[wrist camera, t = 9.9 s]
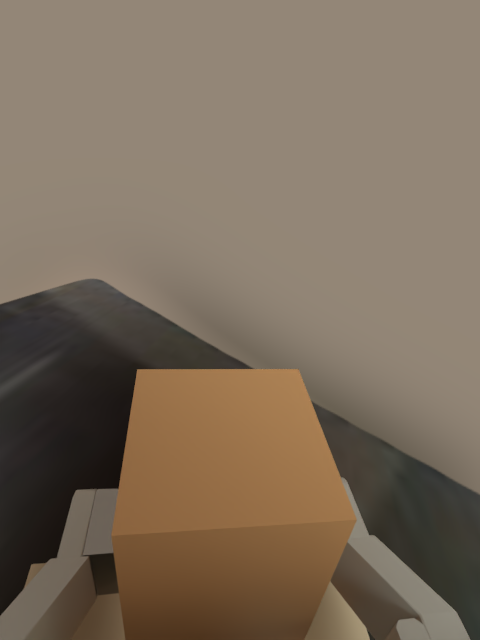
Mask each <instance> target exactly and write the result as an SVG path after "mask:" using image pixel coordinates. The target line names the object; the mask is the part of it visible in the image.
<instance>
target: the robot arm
mask: <svg viewBox="0 0 480 640" xmlns="http://www.w3.org/2000/svg"><path fill="white" fill-rule="evenodd" d="M341 480H342V483H343V485H344V488H345V490H346V493H347V495H348V498H349V501H350V503H351V506H352V508H353V511H354V513H355V516H356V519H357V521H356V523H355V525H354V528H353V530H352V532H351V535H350V537H349V539H348V541H347V544H346V546H345V548H344V551H343V553H342V555H341V557H340V560H339V562H338V564H337V566H336V569H335V571H334V573H333V576H332V578H331V580H330V582H331V583H332V584H333V586H334V587H335V588H336V589H337V591H338V592H339V593H340V595H341V596H342V597H343V598H344V600H345V601H346V602H347V604H348V605H349V606H350V607H351V609H352V610H353V611H354V613H355V614H356V615H357V616H358V618H359V619H360V620H361V622H362V623H363V624H364V625H365V627H366V628H367V629H368V631H369V632H370V633H371V634H372V636H373V637H374V638H375V640H470V638H469V636H468V634H467V632H466V630H465V628H464V626H463V624H462V622H461V620H460V618H459V616H458V614H457V612H456V611H455V610H454V609H453V608H452V607H450V606H449V605H448V604H447V603H446V602H445V601H444V600H443V599H442V598H441V597H440V596H439V595H438V594H437V593H435V592H434V591H433V590H432V589H431V588H430V587H429V586H428V585H427V584H426V583H425V582H424V581H423V580H422V579H420V578H419V577H418V576H417V575H416V574H415V573H414V572H413V571H412V570H411V569H410V568H409V567H408V566H407V565H405V564H404V563H403V562H402V561H401V560H400V559H399V558H398V557H397V556H396V555H395V554H394V553H393V552H392V551H390V550H389V549H388V548H387V547H386V546H385V545H384V544H383V543H382V542H381V541H380V540H379V539H378V538H377V537H375V536H374V535H370V536H369V534H368V532H367V529H366V527H365V524H364V522H363V520H362V517H361V515H360V512H359V510H358V507H357V505H356V502H355V500H354V498H353V495H352V493H351V490H350V488H349V485H348V483H347V481H346V480H345V479H344V478H342V477H341ZM118 490H119V488H115V489H85V490H76V492H75V494H74V496H73V498H72V502H71V506H70V510H69V513H68V517H67V521H66V525H65V529H64V532H63V536H62V540H61V544H60V548H59V551H58V555H57V558H53V559H50V560H49V561H48V562H47V563H46V564H45V565H44V567H43V568H42V569H41V570H40V571H39V572H38V573H37V575H36V576H35V577H34V578H33V579H32V580H31V581H30V583H29V584H28V585H27V586H26V587H25V588H24V589H23V591H22V592H21V593H20V594H19V595H18V596H17V597H16V599H15V600H14V601H13V602H12V603H11V604H10V605H9V607H8V608H7V609H6V610H5V611H4V612H3V613H2V615H1V616H0V640H71V638H72V636H73V635H74V633H75V632H76V630H77V629H78V627H79V626H80V624H81V622H82V621H83V619H84V618H85V616H86V615H87V613H88V611H89V610H90V608H91V607H92V605H93V604H94V602H95V600H96V599H97V596H98V595H107V594H115V593H119V589H118V582H117V574H116V567H115V560H114V552H113V545H112V538H111V534H112V528H113V522H114V515H115V509H116V502H117V496H118Z"/></svg>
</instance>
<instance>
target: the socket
mask: <svg viewBox="0 0 480 640" xmlns="http://www.w3.org/2000/svg"><path fill="white" fill-rule="evenodd" d="M45 564H46V563H41V564H31V568H30V571H29V574H28V577H27V580H26V584H25V587H26V586H27V585H28V584H29V583H30V581H31V580H32V579H33V578H34V577H35V576H36V575H37V573H38V572H39V571H40V570H41V569H42V568H43V567H44V565H45ZM25 587H24V588H25ZM71 640H125V633H124V626H123V619H122V611H121V604H120V597H119V593H115V594H107V595H98V596H97V599H96V600H95V602H94V604H93V605H92V607H91V608H90V610H89V611H88V613H87V615H86V616H85V618H84V619H83V621H82V622H81V624H80V626H79V627H78V629H77V630H76V632H75V633H74V635H73V636H72V638H71ZM304 640H370V639H369V636H368V633H367V629H366V627H365V625H364V624H363V623H362V622H361V620H360V619H359V618H358V616H357V615H356V614H355V613H354V611H353V610H352V609H351V607H350V606H349V605H348V604H347V602H346V601H345V600H344V598H343V597H342V596H341V595H340V593H339V592H338V591H337V589H336V588H335V587H334V586H333V584H332V583H331V582H329V585H328V587H327V589H326V592H325V594H324V596H323V598H322V601H321V603H320V605H319V607H318V610H317V612H316V614H315V617H314V619H313V621H312V623H311V626H310V628H309V630H308V633H307V635H306V637H305V639H304Z"/></svg>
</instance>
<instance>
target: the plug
mask: <svg viewBox="0 0 480 640" xmlns="http://www.w3.org/2000/svg"><path fill="white" fill-rule="evenodd" d="M356 521H357V519H356V516H355V513H354V511H353V508H352V506H351V503H350V501H349V498H348V495H347V493H346V490H345V488H344V485H343V483H342V480H341V477H340V475H339V472H338V470H337V467H336V465H335V462H334V459H333V457H332V454H331V452H330V449H329V447H328V444H327V441H326V439H325V436H324V434H323V431H322V429H321V426H320V423H319V421H318V418H317V416H316V413H315V411H314V408H313V405H312V403H311V400H310V398H309V395H308V393H307V390H306V388H305V385H304V382H303V380H302V377H301V374H300V372H299V369H137V375H136V381H135V388H134V394H133V400H132V407H131V413H130V420H129V426H128V432H127V439H126V445H125V451H124V458H123V464H122V471H121V477H120V483H119V490H118V496H117V502H116V509H115V515H114V522H113V528H112V534H111V538H112V545H113V552H114V560H115V567H116V574H117V582H118V589H119V597H120V604H121V611H122V619H123V626H124V633H125V640H304V639H305V637H306V635H307V633H308V630H309V628H310V626H311V623H312V621H313V619H314V617H315V614H316V612H317V610H318V607H319V605H320V603H321V601H322V598H323V596H324V594H325V592H326V589H327V587H328V585H329V582H330V580H331V578H332V576H333V573H334V571H335V569H336V566H337V564H338V562H339V560H340V557H341V555H342V553H343V551H344V548H345V546H346V544H347V541H348V539H349V537H350V535H351V532H352V530H353V528H354V525H355V523H356Z"/></svg>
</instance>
